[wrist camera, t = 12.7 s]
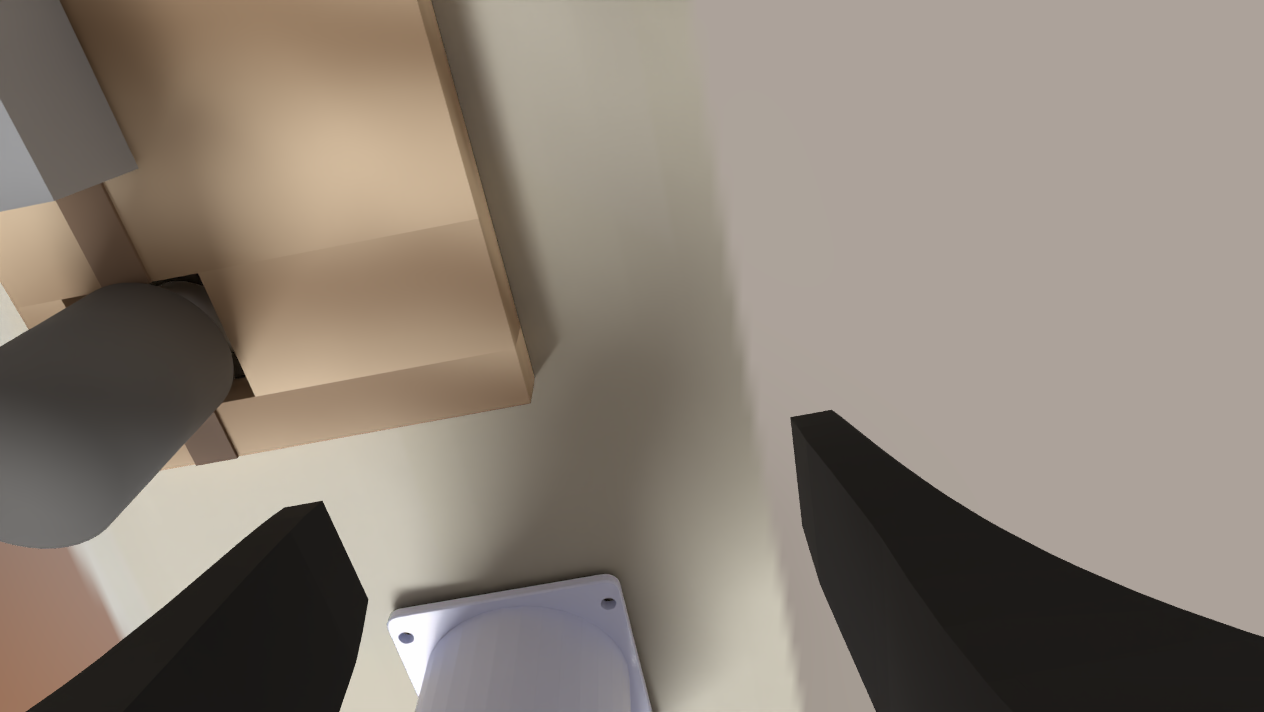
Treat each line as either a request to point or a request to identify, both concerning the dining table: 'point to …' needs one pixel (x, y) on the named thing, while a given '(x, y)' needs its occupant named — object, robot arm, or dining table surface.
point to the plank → (290, 214)
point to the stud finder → (51, 110)
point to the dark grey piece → (103, 405)
